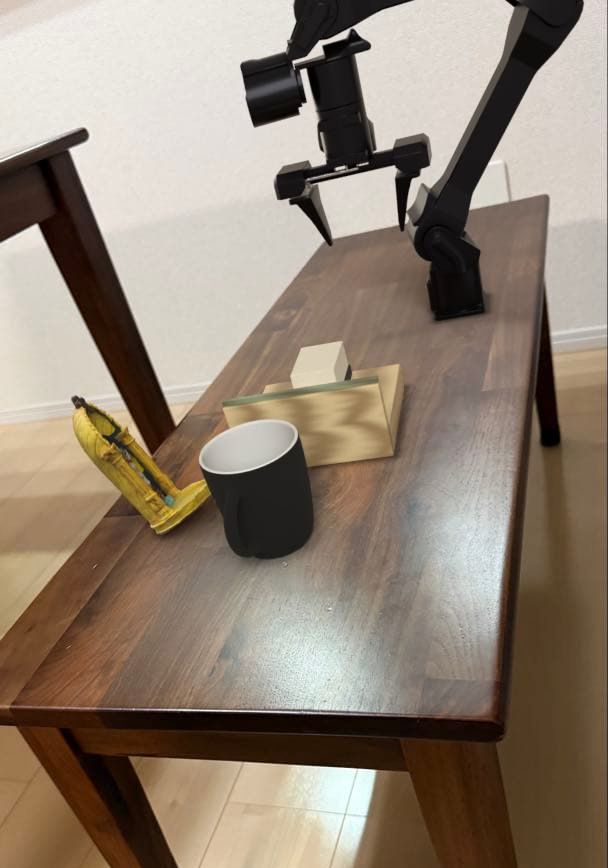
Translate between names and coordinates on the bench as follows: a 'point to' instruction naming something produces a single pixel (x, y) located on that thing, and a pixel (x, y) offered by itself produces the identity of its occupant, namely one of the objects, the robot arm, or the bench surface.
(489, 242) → the bench surface
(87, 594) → the bench surface
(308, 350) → the cream stepped block
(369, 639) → the bench surface
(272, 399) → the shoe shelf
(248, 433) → the mug
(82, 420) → the shrine
